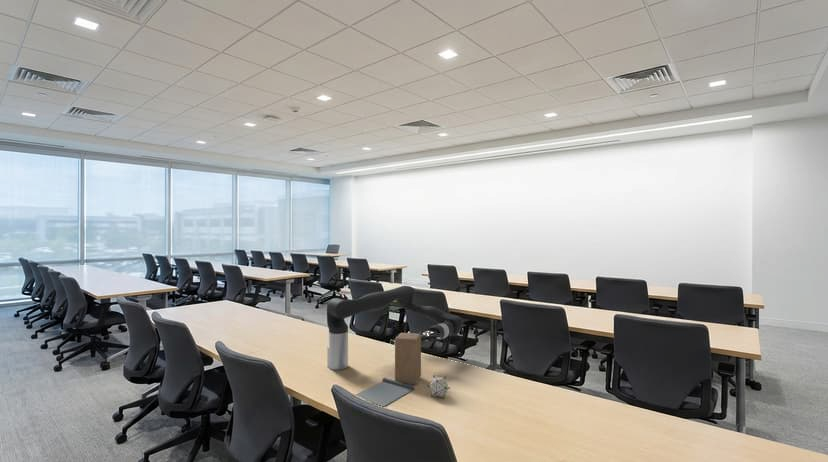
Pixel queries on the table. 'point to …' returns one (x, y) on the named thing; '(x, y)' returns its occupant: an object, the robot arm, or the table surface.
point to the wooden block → (408, 358)
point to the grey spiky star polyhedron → (438, 386)
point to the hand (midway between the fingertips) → (419, 339)
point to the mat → (386, 392)
